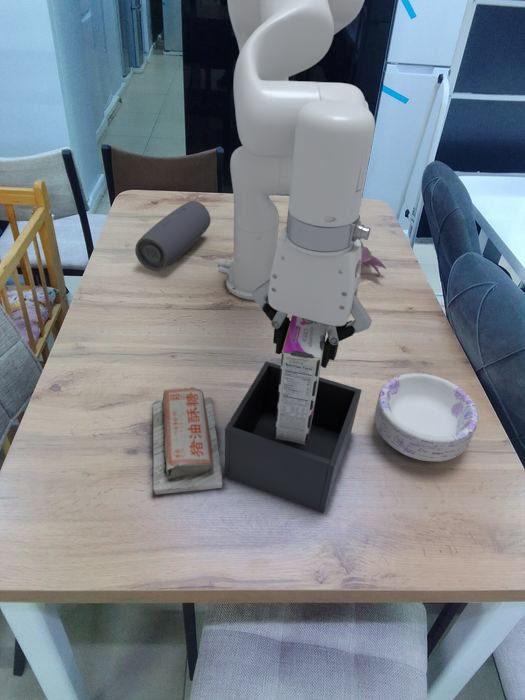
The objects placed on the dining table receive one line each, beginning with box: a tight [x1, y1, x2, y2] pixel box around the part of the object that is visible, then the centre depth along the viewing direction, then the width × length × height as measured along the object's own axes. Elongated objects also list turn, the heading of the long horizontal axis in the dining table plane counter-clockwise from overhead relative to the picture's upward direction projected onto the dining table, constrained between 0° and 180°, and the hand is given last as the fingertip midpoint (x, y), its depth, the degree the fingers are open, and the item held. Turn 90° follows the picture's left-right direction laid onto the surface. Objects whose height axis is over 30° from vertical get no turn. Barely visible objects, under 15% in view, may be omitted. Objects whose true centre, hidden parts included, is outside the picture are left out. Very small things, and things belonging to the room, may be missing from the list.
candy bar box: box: [275, 315, 327, 445], centre depth 69 cm, size 11×5×16 cm, turn 168°
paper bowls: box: [374, 372, 479, 462], centre depth 81 cm, size 15×15×8 cm
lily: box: [360, 239, 387, 277], centre depth 121 cm, size 12×12×10 cm
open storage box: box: [224, 360, 362, 513], centre depth 76 cm, size 16×16×11 cm
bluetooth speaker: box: [134, 200, 212, 272], centre depth 123 cm, size 23×9×10 cm, turn 159°
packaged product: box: [152, 387, 223, 496], centre depth 78 cm, size 18×5×10 cm
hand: (303, 353), depth 66 cm, fingers closed on candy bar box, 5 cm apart
